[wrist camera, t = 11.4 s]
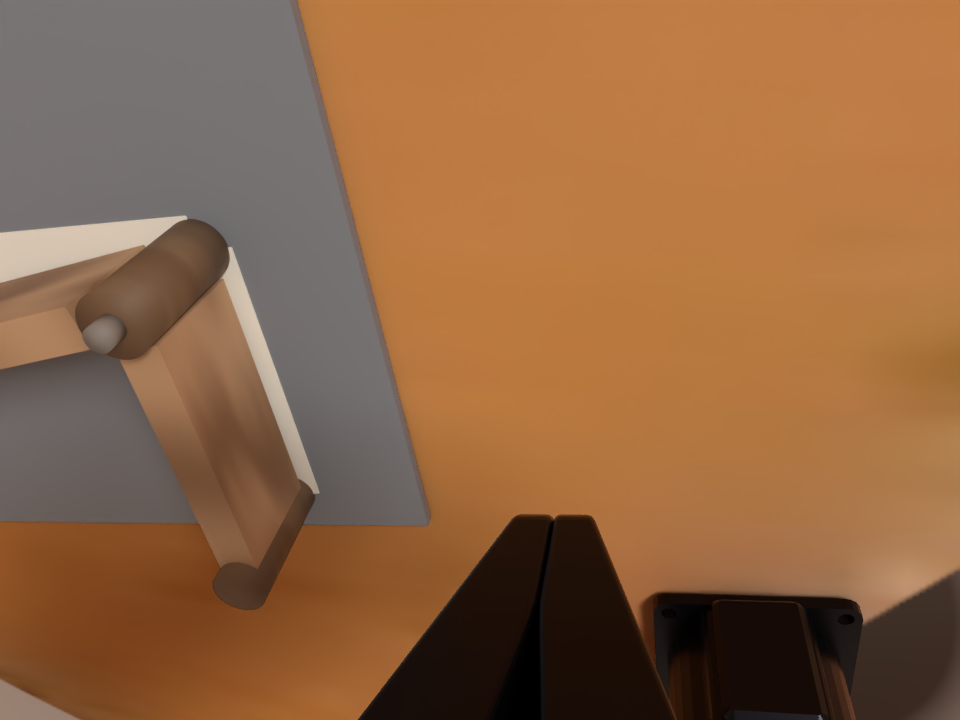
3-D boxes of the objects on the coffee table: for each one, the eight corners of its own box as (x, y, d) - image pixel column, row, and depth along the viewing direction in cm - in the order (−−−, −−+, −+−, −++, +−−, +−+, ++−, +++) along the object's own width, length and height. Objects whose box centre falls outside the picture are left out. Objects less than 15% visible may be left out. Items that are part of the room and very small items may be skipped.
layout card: (430, 517, 26) (428, 527, 25) (-30, 513, 30) (-38, 521, 29) (168, -495, 13) (155, -506, 13) (-563, -252, 17) (-588, -254, 17)
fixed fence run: (327, 502, 26) (266, 628, 22) (279, 501, 26) (211, 625, 22) (224, 210, 20) (115, 303, 16) (165, 215, 21) (45, 307, 17)
